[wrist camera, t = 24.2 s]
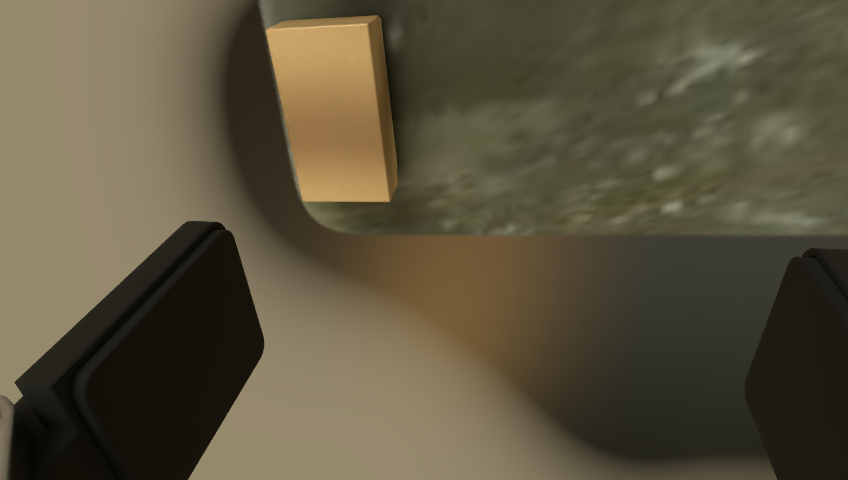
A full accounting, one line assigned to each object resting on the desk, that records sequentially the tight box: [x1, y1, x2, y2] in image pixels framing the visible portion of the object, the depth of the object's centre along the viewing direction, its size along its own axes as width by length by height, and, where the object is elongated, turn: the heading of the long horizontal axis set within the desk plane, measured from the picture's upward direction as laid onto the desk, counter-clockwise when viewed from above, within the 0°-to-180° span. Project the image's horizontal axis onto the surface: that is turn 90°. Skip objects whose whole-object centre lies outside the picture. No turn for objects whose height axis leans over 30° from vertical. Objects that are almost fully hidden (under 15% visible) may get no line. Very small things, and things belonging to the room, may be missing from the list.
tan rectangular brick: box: [266, 15, 398, 202], centre depth 25 cm, size 8×4×3 cm, turn 5°
